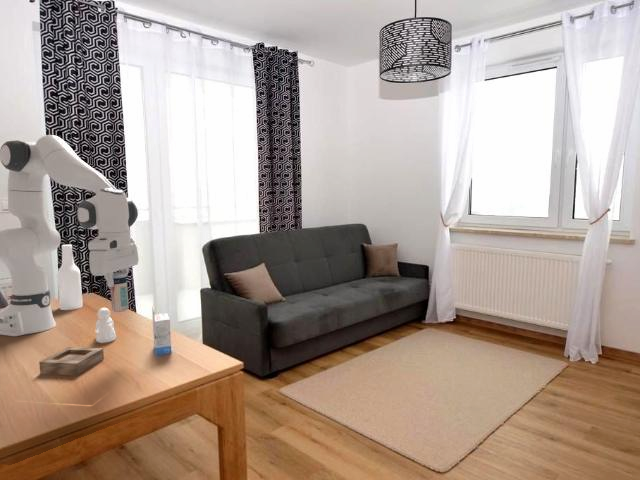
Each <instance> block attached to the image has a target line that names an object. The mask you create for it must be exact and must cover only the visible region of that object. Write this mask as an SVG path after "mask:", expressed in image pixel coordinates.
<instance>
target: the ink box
mask: <svg viewBox="0 0 640 480" xmlns="http://www.w3.org/2000/svg"><path fill="white" fill-rule="evenodd" d="M151 309H152V310H151V311H152V332H153V348H154V349H153V350H154V352H155V356H160V355H167V354H168V355H169V354H172V339H171V337H172V336H171V319H170V316H169V314H168V313H167V312H166V313H160V314H159V313H158V314H155V313H156V312H155V309H154V307H153V306H152V308H151Z"/></svg>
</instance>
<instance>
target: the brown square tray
mask: <svg viewBox="0 0 640 480" xmlns="http://www.w3.org/2000/svg"><path fill="white" fill-rule="evenodd" d="M104 353H105V351H104V347H79V346H76V347H75V346H73V347H72V346H67V347H65V348H63V349H62V350H60V351H58V352H56V353H54V354H52V355H50V356H48V357H46V358H44V359H42V360H40V361H39V363H38V364H39V375H40V374H41V375H60V376H61V375H62V376H77V377H78V376H80V375H81V374H83V373H85V372H87V370H89V369H91V368H92V367H94V366H95V365H96V364H98V363H100V362H101V361H103V360H104V358H105V357H104V356H105V355H104Z"/></svg>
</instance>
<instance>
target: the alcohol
mask: <svg viewBox="0 0 640 480" xmlns="http://www.w3.org/2000/svg"><path fill="white" fill-rule="evenodd" d="M56 277H57V285H58V286H57V287H58V297H59V298H58V300H59V309H60V310H61V311H62V310H63V311H72V310H77V309H81V308H82V307H83V306H84V305H83V293H82V292H83V291H82V278H81V271H80V268H79V267H78V265H76V264H75V260H74V253H73V244H68V243H67V244H62V245H61V266H60V267H59V268H58V270H57V276H56Z"/></svg>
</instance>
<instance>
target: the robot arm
mask: <svg viewBox="0 0 640 480" xmlns="http://www.w3.org/2000/svg"><path fill="white" fill-rule="evenodd" d="M0 162H1V164H2V165H3V167H4V168H5V169H7V170H8V179H7V209H8V212H9V213H10V214H11V215H12V216H14V217H16V218H17V219H18V220H19V222H20V225H21V227H17V228H8V229H4V230H0V261H1V262H2V263H4V264H5V266H6V268H7V269H8V272H9V273H10V276H11V282H12V284H11V285H12V292H13V293H12V294H11V295H9V296H7V299H6V300H10V301H9V304H8V305H7V306H6V307H4V308H3V309H2V310H1V311H0V335H2V336H8V337H18V336H23V335H29V334H30V335H31V334H36V333H40V332H44V331H48V330H50V329H53V328H54V327H56V326H57V322H56V321H55V318H54V314H53V312H52V311H53V310H52V307H51V291H50V290H49V283H48V272H47V270H46V269H45V268H44V267H42V266H40V265H38V264H37V263H36V261H35V258H34V256H38V255H39V256H40V255H45V254H48V253H51V252H54V251H55V250H57V249H58V248H59V247H60V245H61V235H60V233H59V231H58V230H57V229H55V228H54V227H53V226H52V225H51V223H50V221H49V220H48V217H47V215H46V214H47V213H46V210H45V185H44V178H45V176H46V175H48V177H49V178H50V179H51V180H53V181H54V182H55V183H57V184H59V185H62V186H64V187H70V188H78V189H83V190H87V191H90V192H93V193H94V194H95V195H94V196H92V197H91V198H88V199H83V200H82V201H81V202H80V203H79V204H78V206H77V207H76V219H77V222H78V223H79V224H80V226H81V227H83V228H84V229H89V230H98V231H97V234H98V235H97V236H96V237H95V238H94V239H92V240H90V241H89V242H88V244H87V247H88V250H90V252H89V253H88V254H89V256H88V261H89V272H90V273H91V274H92V276H95V277H96V276H97V277H98V276H99V277H100V276H101V277H102V276H104V279H105V281H106V282H107V283H106V284H107V287H108V288H111V287H113V286H115V285H116V284H115V280H113V277H112V276H113V273H116V272H118V271H120V272H124V273H125V274H126V276H127V277H128V274H129V270H130V268H131V267H134V266H137V265H138V264H139V253H138V247H137V244H136V243H135V240H134V239H133V238H132V237H131V230H130V227H132V226H133V225H134V223H135V222H136V221H137V219H138V215H139V212H138V211H139V210H138V208H137V206H136V204H135V203H134V202H133V200H132V199H130V198H129V197H127V195H126V193H125V191H123V190H122V189H119V188H117V187H115V185H113V184H112V183H111V182H110V181H109V179H107V177H106V176H104V175H103V174H102V173H101V172H99V171H98V170H97V169H95V168H93V167H91V166H90V165H89V164H87V163H86V162H85V161H84V160H82V159H81V158H80V156H78V155H77V153H76V152H75V151H74V150H73V148H72V147H71V146H70V145H69V144H68V143H67V142H66V141H65V140H63V138H61V137H59V136H57V135H53V134H47V135H43V136H41V137H40V138H38V139H37V141H26V140H25V141H24V140H23V141H21V140H9V141H5V142H4V143H3V144H2V145H1V147H0Z"/></svg>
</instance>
